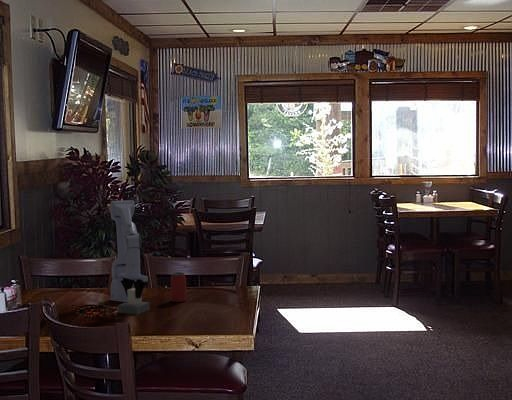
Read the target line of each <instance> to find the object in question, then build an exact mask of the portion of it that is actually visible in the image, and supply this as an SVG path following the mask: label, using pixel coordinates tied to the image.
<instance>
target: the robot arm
mask: <svg viewBox="0 0 512 400" xmlns="http://www.w3.org/2000/svg"><path fill="white" fill-rule="evenodd" d="M134 201H135V200H133V199H129V200H128V199H127V200H111V201H110V204H109V210H110V217H111V218H110V219H111V220H113V221H114V222H115V225H116V226H115V228H116V244H117V248H116V249H117V258H116V259H114V261H112V263H111V277H112V279H113V280H112V281H111V283H110V298H109V300H110V301H113V302H114V301H115V302H122V303H126V302H128V295H127V289H132V288H135V292H136V298H137V299H138V298H141V295H143V290H144V288H145V285H146V284H147V282H148V281H149V277H148V276H147V275H144V274H141V250H140V249H141V248H142V237H141V234H139V232H138V230H137V227H136V224H135V222H132V219H133V216H134V213H135V202H134ZM133 286H134V287H133Z"/></svg>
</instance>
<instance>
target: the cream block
mask: <svg viewBox="0 0 512 400" xmlns="http://www.w3.org/2000/svg"><path fill="white" fill-rule="evenodd" d="M127 295H128V301H127V302H128V304H131V305H137V304H141V303H142V302H143V298H142V297H143V296H142V295H143V294H142V295H141V298H138V299H137V298H136V292H135V287H132V289H127Z"/></svg>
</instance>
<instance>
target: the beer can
mask: <svg viewBox="0 0 512 400" xmlns="http://www.w3.org/2000/svg"><path fill="white" fill-rule="evenodd" d="M186 300H187V277H186V275H185V273H184V272H173V273H171V276H170V301H171V302H173V303H184V302H186Z"/></svg>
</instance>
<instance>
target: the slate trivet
mask: <svg viewBox="0 0 512 400" xmlns="http://www.w3.org/2000/svg"><path fill="white" fill-rule="evenodd" d="M150 305H151V304H150V302H148V301H142V303H141V304H137V305H131V304H128V301H127V302H123V303H121V304H118V305H117V309H118V313H119V314H129V315H139V314H142V313H144V312H147V311H150V308H151V307H150Z"/></svg>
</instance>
